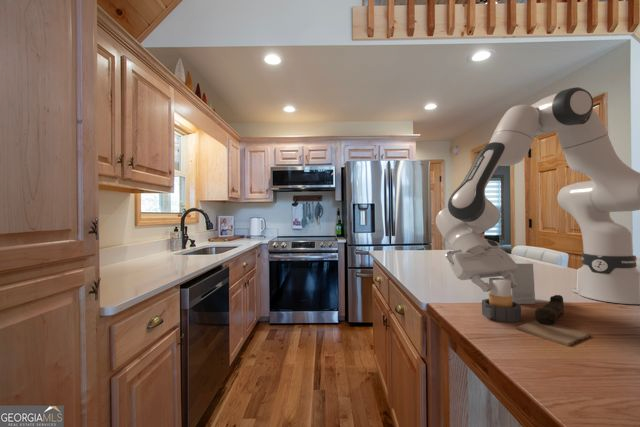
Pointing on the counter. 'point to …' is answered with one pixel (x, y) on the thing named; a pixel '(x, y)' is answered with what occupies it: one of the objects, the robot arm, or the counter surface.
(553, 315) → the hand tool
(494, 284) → the two-tone cylinder
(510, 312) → the collar
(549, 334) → the walnut board
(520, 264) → the supplement box
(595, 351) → the counter surface
